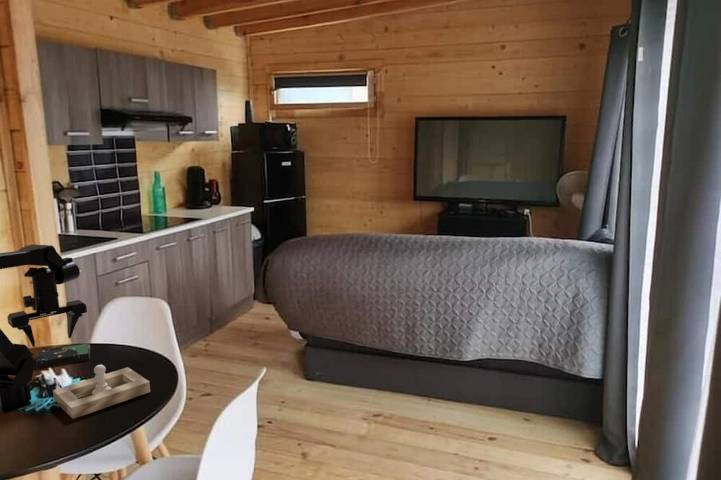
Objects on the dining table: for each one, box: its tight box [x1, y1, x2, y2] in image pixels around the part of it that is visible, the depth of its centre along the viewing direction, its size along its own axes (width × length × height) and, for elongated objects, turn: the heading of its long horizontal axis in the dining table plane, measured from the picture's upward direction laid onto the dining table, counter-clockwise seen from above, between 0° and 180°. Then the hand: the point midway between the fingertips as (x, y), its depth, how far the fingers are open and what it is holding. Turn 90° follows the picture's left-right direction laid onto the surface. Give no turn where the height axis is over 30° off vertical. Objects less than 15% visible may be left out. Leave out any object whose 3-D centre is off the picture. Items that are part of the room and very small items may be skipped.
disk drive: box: [35, 342, 91, 369], centre depth 174 cm, size 10×3×15 cm
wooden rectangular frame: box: [52, 366, 151, 420], centre depth 147 cm, size 20×14×3 cm
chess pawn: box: [91, 364, 113, 395], centre depth 147 cm, size 5×5×9 cm
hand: (51, 342), depth 155 cm, fingers open, 9 cm apart
